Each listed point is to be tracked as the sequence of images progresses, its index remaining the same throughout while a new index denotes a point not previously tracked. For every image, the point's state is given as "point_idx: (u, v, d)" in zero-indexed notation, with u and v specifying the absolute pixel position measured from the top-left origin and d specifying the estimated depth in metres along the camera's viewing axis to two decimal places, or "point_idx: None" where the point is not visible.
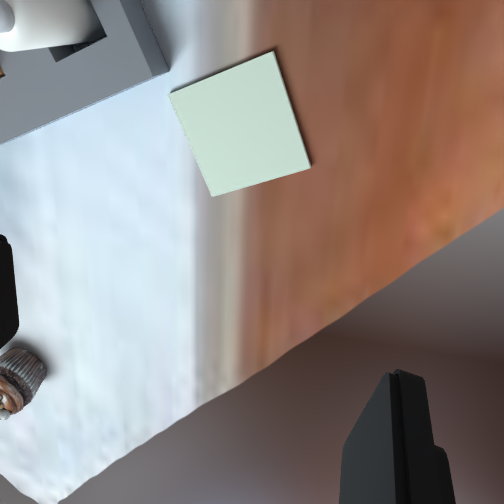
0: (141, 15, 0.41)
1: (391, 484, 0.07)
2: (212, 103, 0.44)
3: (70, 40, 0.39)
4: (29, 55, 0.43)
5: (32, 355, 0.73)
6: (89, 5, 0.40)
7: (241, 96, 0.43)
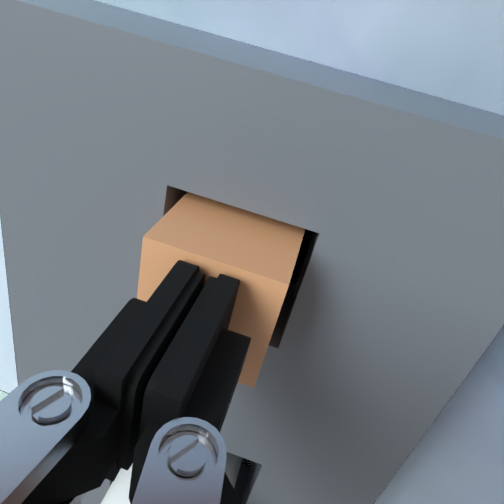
0: None
1: (171, 345, 0.08)
2: None
3: None
4: None
5: None
6: None
7: None
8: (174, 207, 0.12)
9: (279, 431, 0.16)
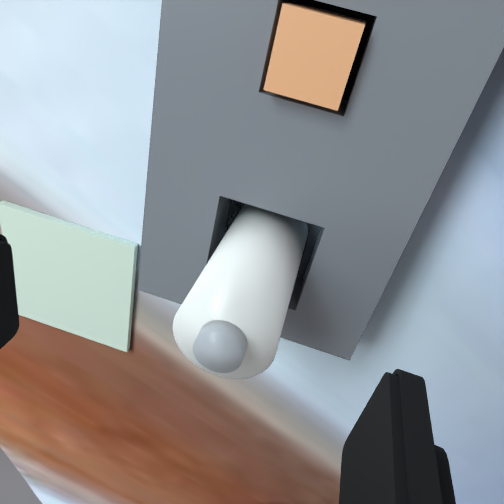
0: None
1: (391, 484, 0.07)
2: (104, 281, 0.36)
3: None
4: (252, 166, 0.24)
5: None
6: None
7: (99, 307, 0.38)
8: (290, 3, 0.21)
9: (339, 192, 0.24)
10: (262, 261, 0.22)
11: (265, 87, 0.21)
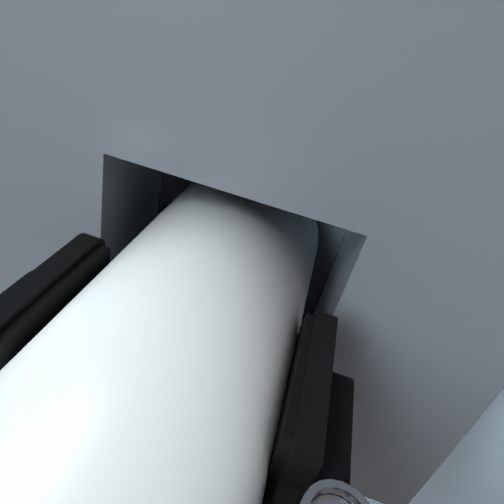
0: None
1: (289, 395, 0.08)
2: None
3: None
4: (175, 67, 0.09)
5: None
6: None
7: None
8: None
9: (416, 137, 0.09)
10: (182, 344, 0.07)
11: None
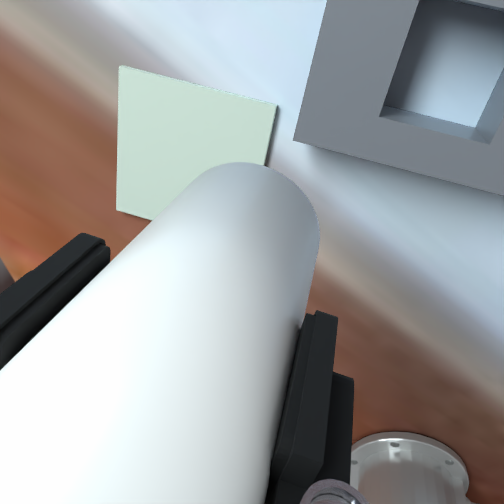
0: None
1: (289, 395, 0.08)
2: (233, 155, 0.33)
3: None
4: None
5: None
6: None
7: None
8: None
9: None
10: (185, 343, 0.07)
11: None
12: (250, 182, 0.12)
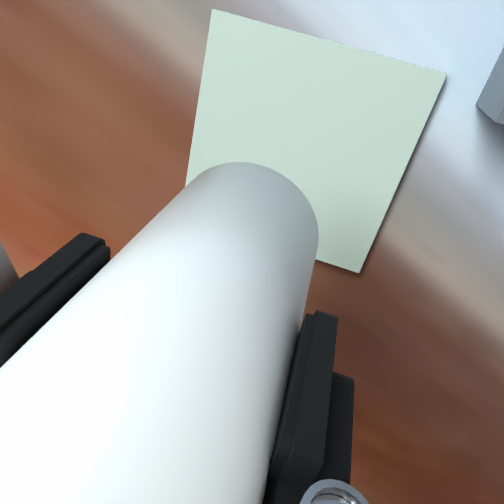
0: None
1: (289, 395, 0.08)
2: (365, 146, 0.23)
3: None
4: None
5: None
6: None
7: (338, 197, 0.25)
8: None
9: None
10: (182, 343, 0.07)
11: None
12: (249, 181, 0.12)
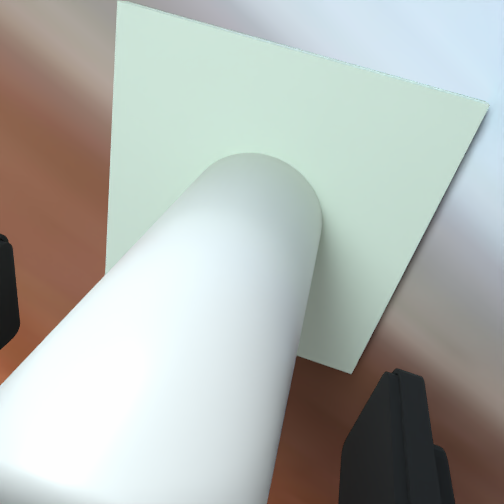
0: None
1: (390, 483, 0.07)
2: (358, 208, 0.15)
3: None
4: None
5: None
6: None
7: (320, 276, 0.17)
8: None
9: None
10: (211, 305, 0.08)
11: None
12: (259, 170, 0.14)
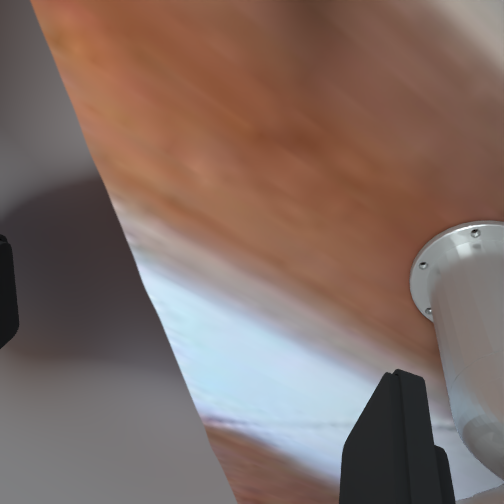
0: None
1: (391, 484, 0.07)
2: None
3: None
4: None
5: None
6: None
7: None
8: None
9: None
10: None
11: None
12: None
